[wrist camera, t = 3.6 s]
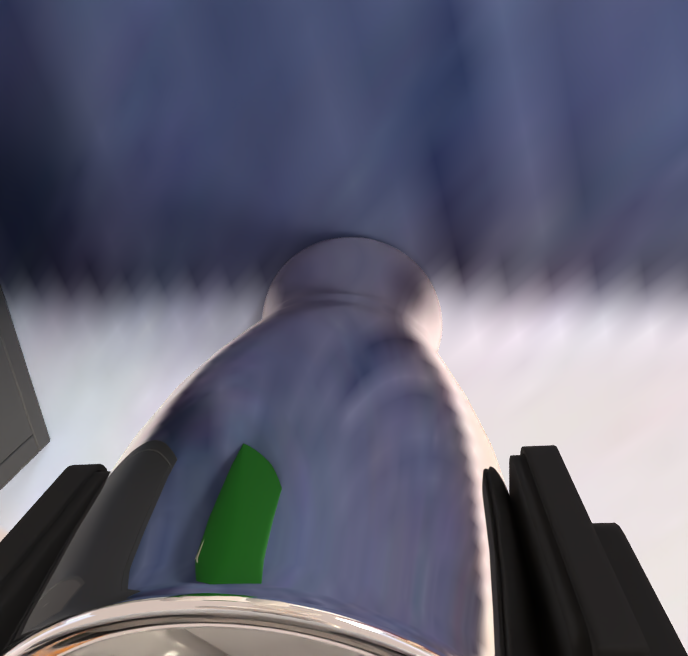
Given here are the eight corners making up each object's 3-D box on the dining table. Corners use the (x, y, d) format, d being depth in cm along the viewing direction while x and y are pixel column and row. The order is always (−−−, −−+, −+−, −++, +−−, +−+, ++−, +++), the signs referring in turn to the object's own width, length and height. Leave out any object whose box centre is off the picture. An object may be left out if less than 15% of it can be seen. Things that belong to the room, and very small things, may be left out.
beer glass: (265, 415, 22) (31, 994, 8) (237, 229, 19) (-188, 584, 5) (456, 409, 21) (581, 1036, 7) (453, 214, 18) (641, 583, 4)
